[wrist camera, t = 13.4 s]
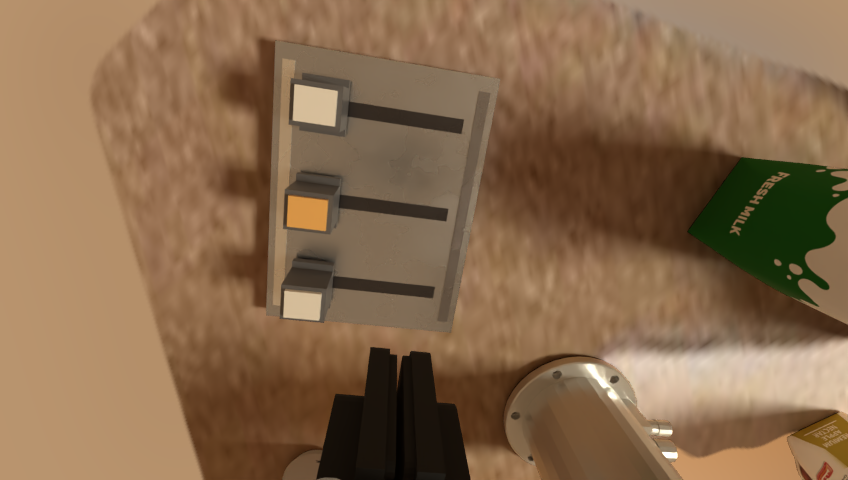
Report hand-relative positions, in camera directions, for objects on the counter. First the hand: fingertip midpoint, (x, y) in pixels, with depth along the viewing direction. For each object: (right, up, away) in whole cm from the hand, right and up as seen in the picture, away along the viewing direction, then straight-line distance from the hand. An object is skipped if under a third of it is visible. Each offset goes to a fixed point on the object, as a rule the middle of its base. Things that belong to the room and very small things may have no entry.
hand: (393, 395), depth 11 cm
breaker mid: (-7, +7, +18) cm, 21 cm away
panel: (-3, +7, +20) cm, 21 cm away
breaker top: (-8, +1, +20) cm, 22 cm away
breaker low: (-6, +13, +16) cm, 22 cm away
